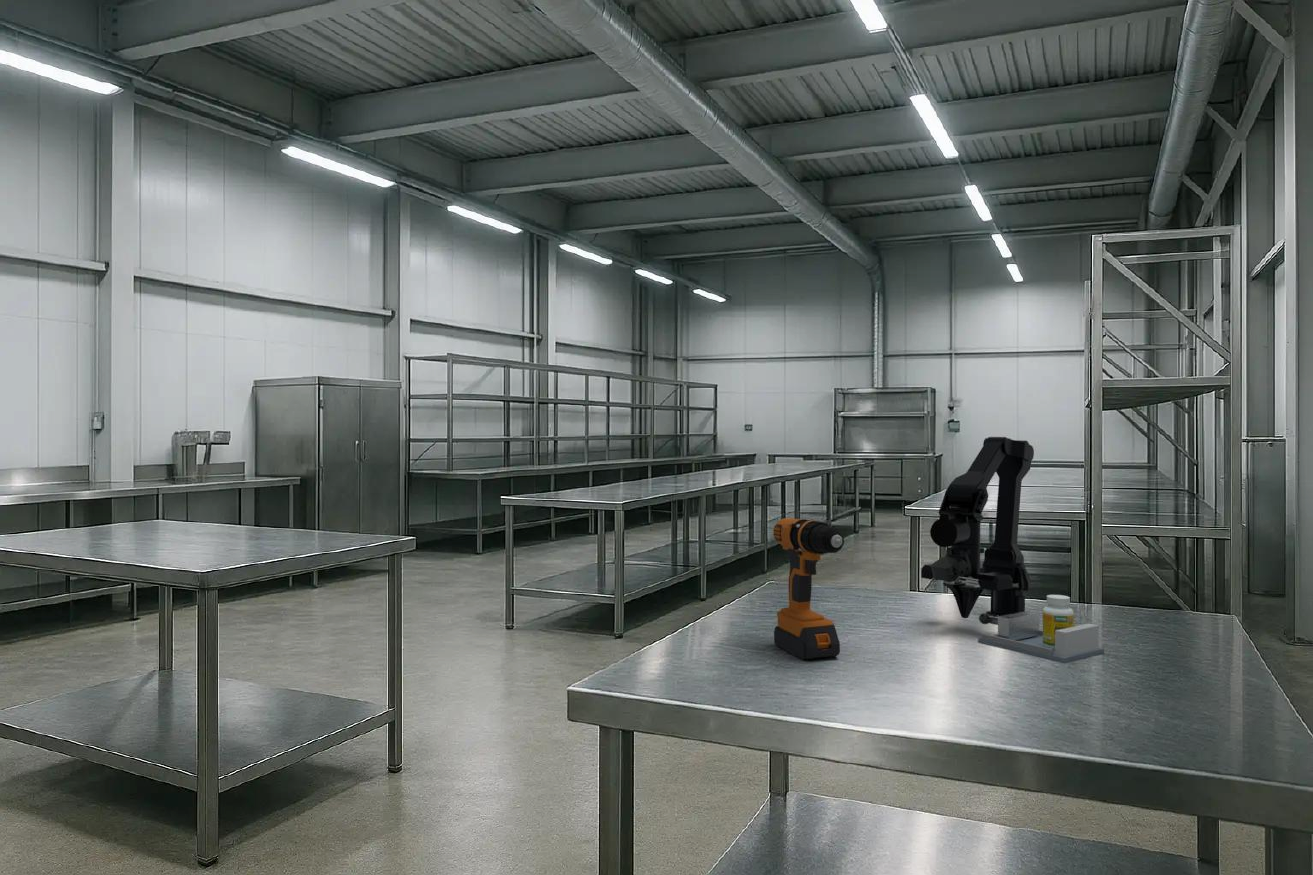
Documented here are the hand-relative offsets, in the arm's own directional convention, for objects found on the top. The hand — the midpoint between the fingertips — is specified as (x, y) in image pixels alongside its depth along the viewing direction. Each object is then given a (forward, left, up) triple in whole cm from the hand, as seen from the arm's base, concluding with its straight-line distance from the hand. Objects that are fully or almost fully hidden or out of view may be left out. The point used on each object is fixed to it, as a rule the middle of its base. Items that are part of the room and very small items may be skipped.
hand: (964, 617), depth 183 cm
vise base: (+17, 0, -3) cm, 17 cm away
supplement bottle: (+21, 0, -2) cm, 21 cm away
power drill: (-2, -41, -3) cm, 41 cm away
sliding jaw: (+9, 0, -1) cm, 9 cm away
